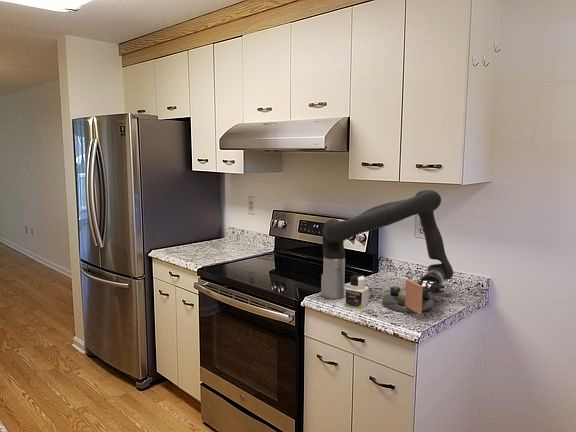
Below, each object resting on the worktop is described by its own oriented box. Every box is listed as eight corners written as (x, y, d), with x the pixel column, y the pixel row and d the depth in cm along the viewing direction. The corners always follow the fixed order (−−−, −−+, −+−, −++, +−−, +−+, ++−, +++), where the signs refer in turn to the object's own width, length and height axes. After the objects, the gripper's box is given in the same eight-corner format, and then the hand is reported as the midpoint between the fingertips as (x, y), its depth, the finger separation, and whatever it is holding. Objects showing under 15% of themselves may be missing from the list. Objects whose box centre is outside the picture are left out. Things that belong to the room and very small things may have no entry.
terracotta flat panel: (395, 303, 184) (396, 277, 183) (404, 302, 186) (405, 276, 184) (415, 314, 171) (416, 286, 170) (425, 313, 173) (426, 285, 171)
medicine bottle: (345, 305, 188) (345, 276, 187) (352, 300, 194) (353, 273, 193) (361, 308, 185) (362, 279, 183) (368, 304, 190) (369, 275, 189)
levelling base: (375, 307, 186) (376, 294, 185) (390, 294, 203) (390, 282, 202) (426, 316, 176) (427, 302, 175) (437, 301, 194) (437, 289, 193)
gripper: (416, 270, 189) (405, 280, 174) (449, 274, 183) (441, 285, 168) (415, 287, 190) (404, 299, 175) (449, 292, 184) (440, 305, 169)
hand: (422, 292), depth 171 cm, fingers closed
